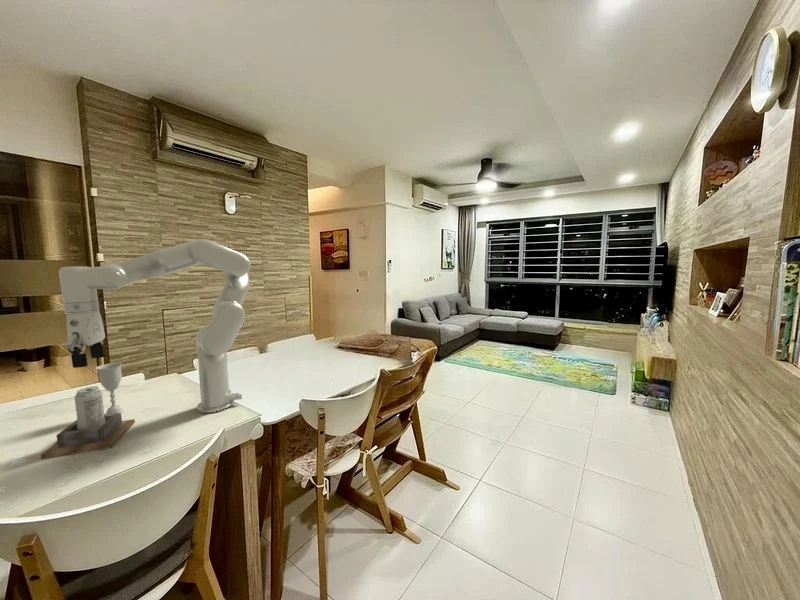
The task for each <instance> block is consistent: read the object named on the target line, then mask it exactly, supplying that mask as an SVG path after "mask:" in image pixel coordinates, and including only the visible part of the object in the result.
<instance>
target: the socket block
mask: <svg viewBox="0 0 800 600" xmlns="http://www.w3.org/2000/svg"><path fill="white" fill-rule="evenodd" d="M104 417H105V423H104V424H103V425H102V426H101V427H97V428H90V429H83V430H79V429H78V421H77V419H76V420H74V421H73V422H72V423H70V424H69V425H68V426H66V427H65V428H64V429H63V430H61V431H60V432H59V433H58V434H56V442H55V443H53V444H52V445H51V446H50V447H48V449H46V450H45V451H43V452H42V453H41V454H40V458H41V459H47V458H48V459H49V458H54V457H60V456H67V455H75V454H79V453H87V452H92V451H98V450H105V449H106V450H107V449H110V448H113V447H114V446H115V445H116V443H117V442H119V440H120V439H121V438H122V437H124V435H125V434H126V433H127V431H128V430H129V429H130V428H131V427H132V426H133V425H134V424H135V423H136V421H135V419H134V418H133V419H127V420H122V413H114V414H106V413H105V414H104Z"/></svg>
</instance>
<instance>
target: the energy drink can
mask: <svg viewBox="0 0 800 600" xmlns="http://www.w3.org/2000/svg"><path fill="white" fill-rule="evenodd" d="M74 404H75V405H74V406H75V411H76V420H77V421H78V429H79V430H83V429H90V428H97V427H101V426H102V425H103V424H104V423H105V417H104V415H105V409H104V401H103V393H102V391H101V389H100V388H99V386H95V385H94V386H86V387H84V388H79V389H78V390H76V395H75V396H74Z"/></svg>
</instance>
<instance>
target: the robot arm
mask: <svg viewBox="0 0 800 600" xmlns="http://www.w3.org/2000/svg"><path fill="white" fill-rule="evenodd" d="M200 265H206V266H208V267H211V268H214V269H216V270H219V271H221V272H223V274H224V277H225V283H224V286H223V287H222V290H221V292H220V294H219V296H218V298H217V300H216V301H215V303H214V304H213V306H212V308H211V312H210V313H211V314H210V315H211V317H212V322H211V324H209V325H204V326H203V327H201V328H199V330H198V331H197V333H196V335H195V340H194V341H195V348H196V354H197V360H198V361H197V362H198V377H199V380H198V381H199V390H200V391H199V392H200V402H198V404H197V406H196V411H197V412H199V413H203V414H205V413H206V414H210V413H211V412H212V413H217V412H216V411H218V412H221V411H224V410H226V409H225V408H227V409H229V408H230V407H232V406H233V405H234V404H233V403H235V401H237V400H242V399H243V394H241V393H240V392H236V393H233V392H232V390H231V389H230V386H229V385H230V384H229V368H228V356H227V352H228V351H229V350H230V349H231V347H233V344H234V342H235V340H236V338H237V336H238V334H239V332H240V330H241V328H242V326H243V324H244V321H245V319H246V318H245V317H246V311H245V309H244V307H243V304H244V302H245V299H246V298H247V297H246V296H247V295H248V292H249V289H250V277H249V272H250V271H251V267H252V265H251V261H250V259H249V257H247V256H246V255H245V254H243V253H241V252H238V251H236V250H234V249H232V248H229V247H226V246H224V245H222V244H220V243H217V242H216V241H212V240H210V239H205V238H200V239H196V240H193V241H189V242H185V243H181V244H178V245H173V246H169V247H165V248H161V249H157V250H154V251H151V252H149V253H146V254H144V255H142V256H137V257H135V258H134V257H133V258H130V259H126V260H123V261H119V262H115V263H111V264H108V265H103V266H102V265H101V266H93V267H90V266H82V265H81V266H77V265H76V266H64V267H60V269H59V270H58V277H59V284H60V291H61V296H62V305H63V311H64V314H65V315H66V334H67V341H66V342H65V346H66V347H67V350H68V353H69V355H70V356H71V363H72V364H71V365H72V368H74V369H77V368H86V367H87V366H89V364H88V358H87V353H86V351H85V350H86V348H87V346H88V347H89V348H90V349H89V350H90V358H91V359H98V358H99V359H100V358H104V357H105V356H106V355H105V354H106V353H105V349H104V339H105V338H106V332H105V327H104V322H103V319H102V315H101V312H100V304H99V296H98V295H99V294H98V291H97V290H108V291H109V290H118V289H121V288H123V287H125V286H126V285H128V284H132V283H135V282H137V281H138V282H139V281H141V280H145V279H148V278H149V279H150V278H153V277H163V276H167V275H171V274H174V273H177V272H180V271H184V270H186V269H187V270H188V269H191V268H193V267H197V266H200ZM232 404H233V405H232ZM231 405H232V406H231ZM229 406H230V407H229ZM228 407H229V408H228ZM223 409H224V410H223ZM220 410H221V411H220ZM212 413H211V414H212Z"/></svg>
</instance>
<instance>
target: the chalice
mask: <svg viewBox="0 0 800 600" xmlns="http://www.w3.org/2000/svg"><path fill="white" fill-rule="evenodd" d="M122 365H123V363H122V362H111V363H106V364H101V365H98V366H96V367H95V369H96V370H97V372H98V381H99V383H100V384H101V386H102V387H103V388H104V389H105V391H107V392H109V393H110V394H109V397H110V400H109V402H110V403H111V406H110V407H108V408H107V411H106V412H105V415H106V414H114V413H121V414H122V413H123V412H124V409H123V407H121V406H120V405H119V404H118V405H117V404H116V401H117V399H116V398H115V397H116V394H115V390H117V389H118V387H119V385H120V383H121V382H122V381H121V380H122V375H123V374H122Z"/></svg>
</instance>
